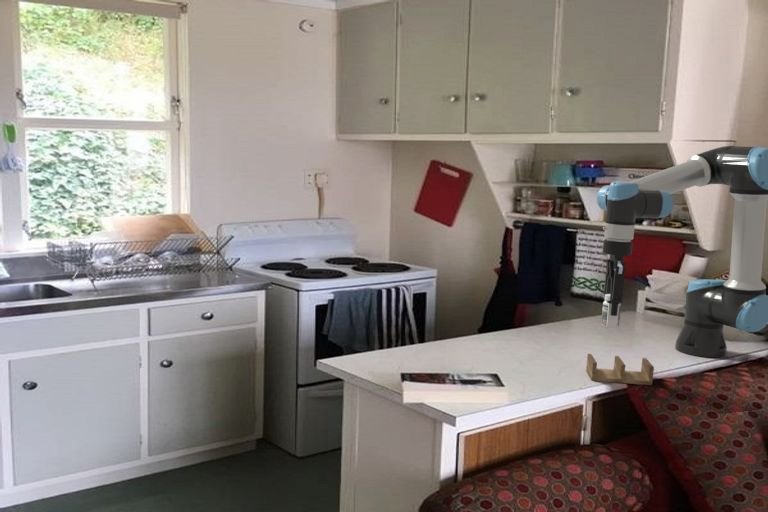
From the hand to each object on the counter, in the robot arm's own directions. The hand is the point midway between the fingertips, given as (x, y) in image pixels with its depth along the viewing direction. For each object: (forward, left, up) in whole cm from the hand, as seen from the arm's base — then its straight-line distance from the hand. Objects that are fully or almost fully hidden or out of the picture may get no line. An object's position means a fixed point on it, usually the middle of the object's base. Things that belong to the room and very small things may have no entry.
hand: (609, 324), depth 220 cm
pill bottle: (0, 0, -1) cm, 1 cm away
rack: (-4, 0, -15) cm, 15 cm away
